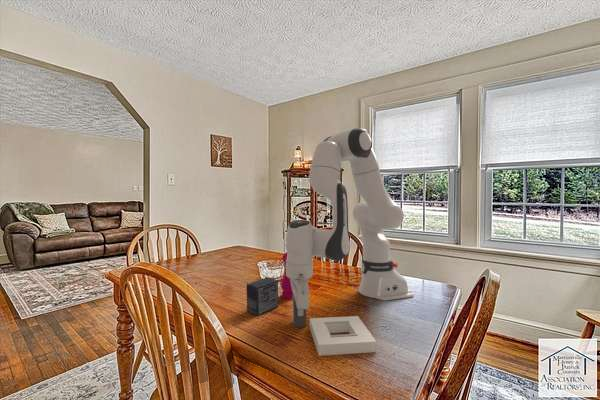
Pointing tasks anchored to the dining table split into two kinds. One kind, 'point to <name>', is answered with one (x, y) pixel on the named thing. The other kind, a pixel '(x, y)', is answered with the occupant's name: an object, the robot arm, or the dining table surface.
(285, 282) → the pepper mill
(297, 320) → the plug
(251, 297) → the small box
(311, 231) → the robot arm
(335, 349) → the socket
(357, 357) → the dining table surface
